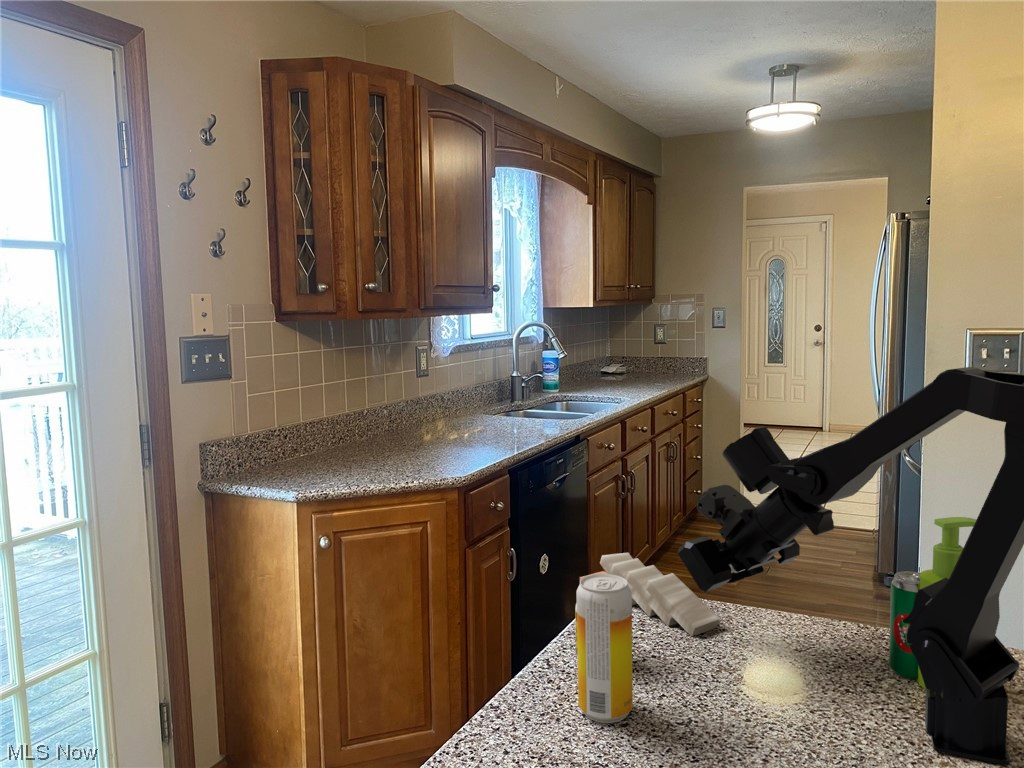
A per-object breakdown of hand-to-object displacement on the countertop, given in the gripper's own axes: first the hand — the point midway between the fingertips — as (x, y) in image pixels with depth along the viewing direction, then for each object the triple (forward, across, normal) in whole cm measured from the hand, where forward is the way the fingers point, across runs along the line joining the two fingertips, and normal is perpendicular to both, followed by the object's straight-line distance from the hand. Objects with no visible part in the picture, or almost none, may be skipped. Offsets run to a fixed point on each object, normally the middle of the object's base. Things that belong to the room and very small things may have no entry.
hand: (705, 582), depth 103 cm
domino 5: (+4, 0, +5) cm, 6 cm away
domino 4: (+7, 0, +2) cm, 8 cm away
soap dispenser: (-14, -11, +24) cm, 30 cm away
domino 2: (+13, 0, -4) cm, 14 cm away
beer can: (0, +25, +10) cm, 27 cm away
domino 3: (+10, 0, -1) cm, 10 cm away
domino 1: (+15, 0, -6) cm, 16 cm away
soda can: (-11, -10, +22) cm, 26 cm away
